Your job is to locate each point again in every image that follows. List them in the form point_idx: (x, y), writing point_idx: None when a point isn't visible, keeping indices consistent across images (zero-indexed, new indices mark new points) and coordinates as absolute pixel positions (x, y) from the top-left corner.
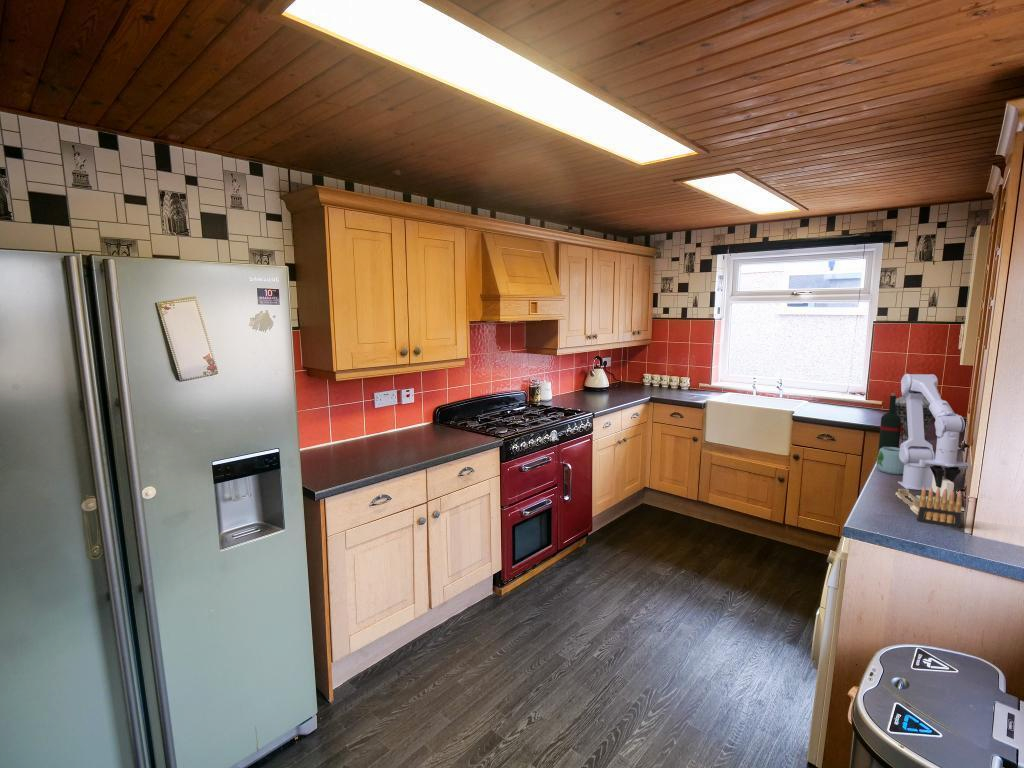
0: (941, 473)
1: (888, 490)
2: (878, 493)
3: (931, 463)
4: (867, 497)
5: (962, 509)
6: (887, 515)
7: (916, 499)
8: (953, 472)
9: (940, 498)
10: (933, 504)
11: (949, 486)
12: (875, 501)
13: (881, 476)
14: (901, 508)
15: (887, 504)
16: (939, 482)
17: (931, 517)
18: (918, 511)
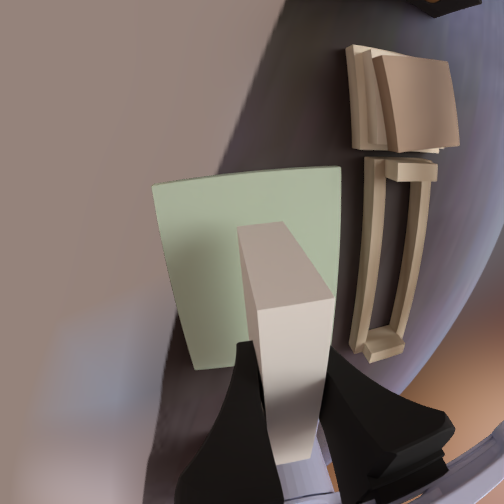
0: (382, 419)
1: (387, 369)
2: (439, 319)
3: (496, 467)
4: (489, 254)
5: (176, 204)
6: (497, 63)
7: (377, 268)
8: (263, 470)
9: (235, 351)
10: (312, 238)
11: (292, 278)
12: (490, 215)
13: (327, 459)
14: (453, 149)
15: (475, 190)
16: (336, 354)
17: None
18: (460, 6)
